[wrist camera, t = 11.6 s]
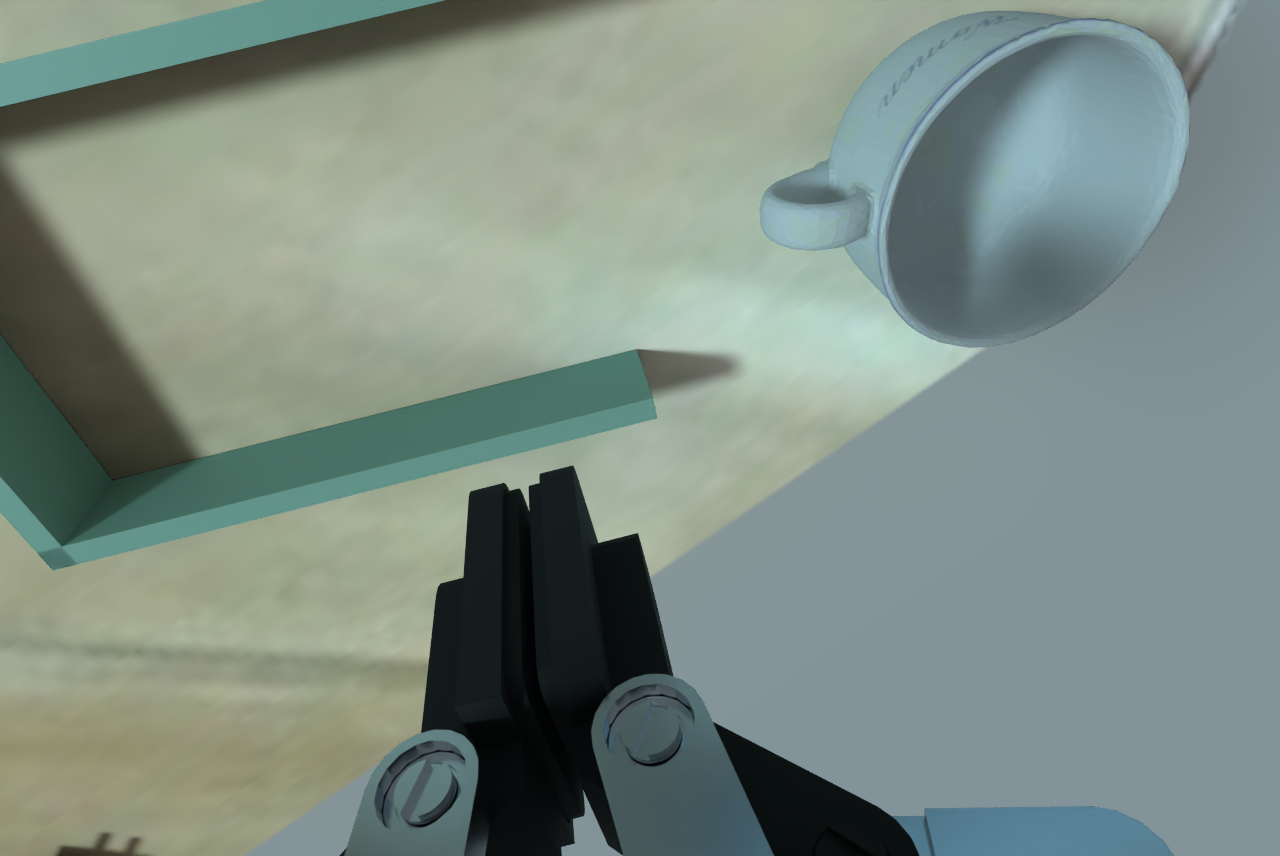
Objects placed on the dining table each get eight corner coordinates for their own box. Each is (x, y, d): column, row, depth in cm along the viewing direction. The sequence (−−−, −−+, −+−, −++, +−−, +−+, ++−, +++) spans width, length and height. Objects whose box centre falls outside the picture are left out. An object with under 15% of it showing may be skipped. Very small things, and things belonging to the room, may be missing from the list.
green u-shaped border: (-204, 115, 24) (-335, 143, 20) (543, -63, 25) (550, -68, 21) (104, 502, 34) (53, 570, 30) (640, 368, 34) (657, 418, 30)
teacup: (1088, 21, 29) (1263, 38, 22) (991, 281, 34) (1107, 358, 28) (751, -21, 26) (834, -15, 20) (707, 268, 32) (759, 349, 25)
